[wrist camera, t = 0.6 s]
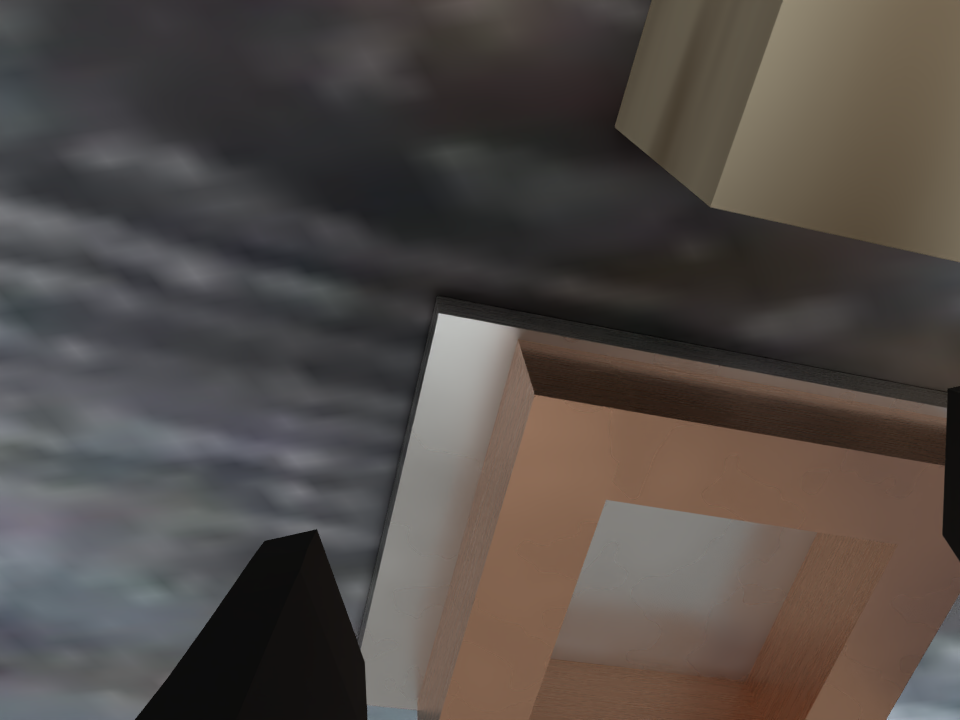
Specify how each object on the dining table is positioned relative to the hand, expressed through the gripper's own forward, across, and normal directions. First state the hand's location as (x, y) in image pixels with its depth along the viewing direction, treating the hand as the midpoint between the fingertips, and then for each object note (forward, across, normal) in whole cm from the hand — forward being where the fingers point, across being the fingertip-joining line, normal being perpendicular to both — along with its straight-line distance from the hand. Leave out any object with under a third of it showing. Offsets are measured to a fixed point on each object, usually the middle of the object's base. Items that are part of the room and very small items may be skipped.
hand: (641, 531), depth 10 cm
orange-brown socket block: (+10, -2, +8) cm, 13 cm away
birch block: (+10, -5, -3) cm, 12 cm away
